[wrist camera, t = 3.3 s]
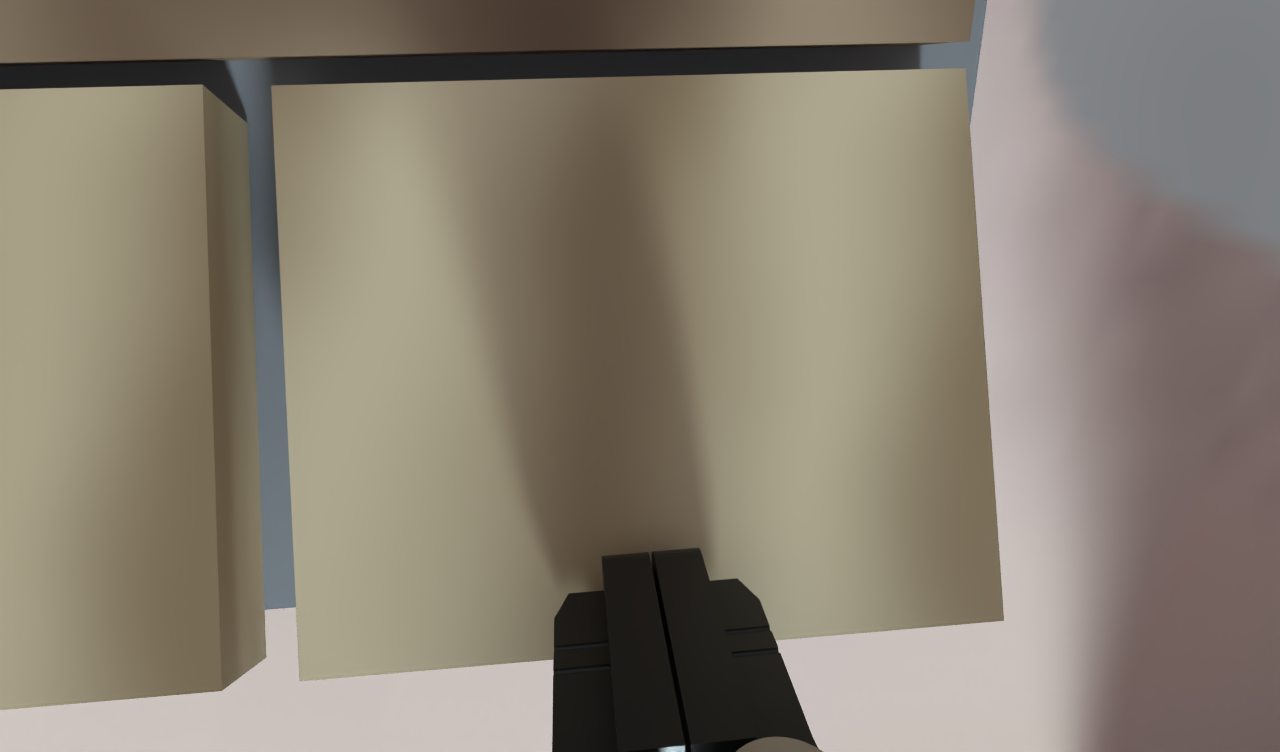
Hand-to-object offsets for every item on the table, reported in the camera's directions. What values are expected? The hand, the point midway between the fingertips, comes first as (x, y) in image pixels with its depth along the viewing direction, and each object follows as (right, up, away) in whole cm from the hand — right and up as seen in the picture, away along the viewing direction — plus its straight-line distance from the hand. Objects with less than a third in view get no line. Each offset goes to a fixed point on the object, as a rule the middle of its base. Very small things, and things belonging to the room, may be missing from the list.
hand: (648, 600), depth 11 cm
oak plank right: (0, +4, +2) cm, 4 cm away
